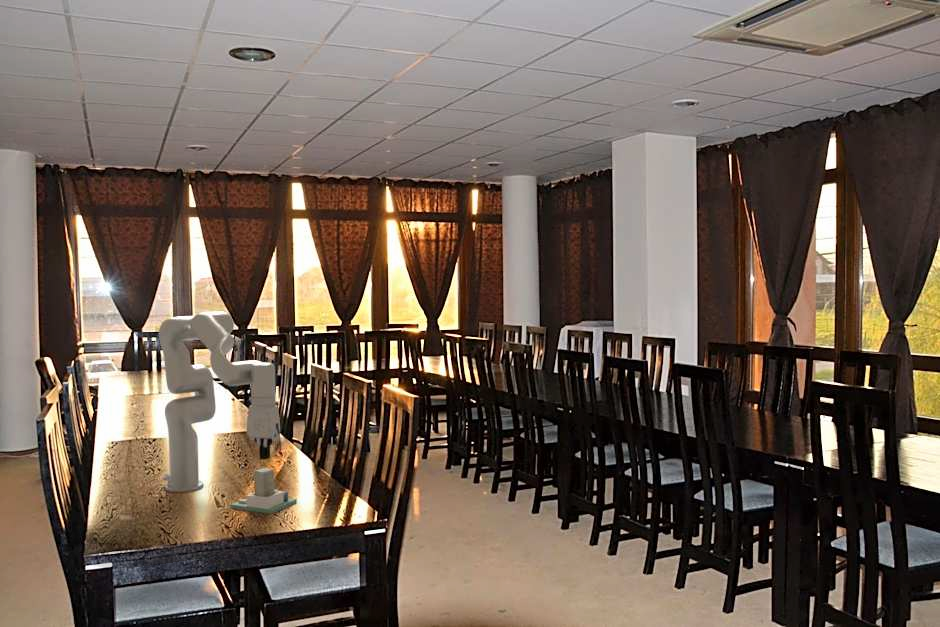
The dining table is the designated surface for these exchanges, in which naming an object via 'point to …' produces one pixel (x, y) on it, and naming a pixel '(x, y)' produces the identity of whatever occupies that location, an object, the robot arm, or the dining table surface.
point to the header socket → (265, 500)
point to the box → (264, 482)
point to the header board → (243, 506)
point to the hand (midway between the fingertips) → (264, 458)
